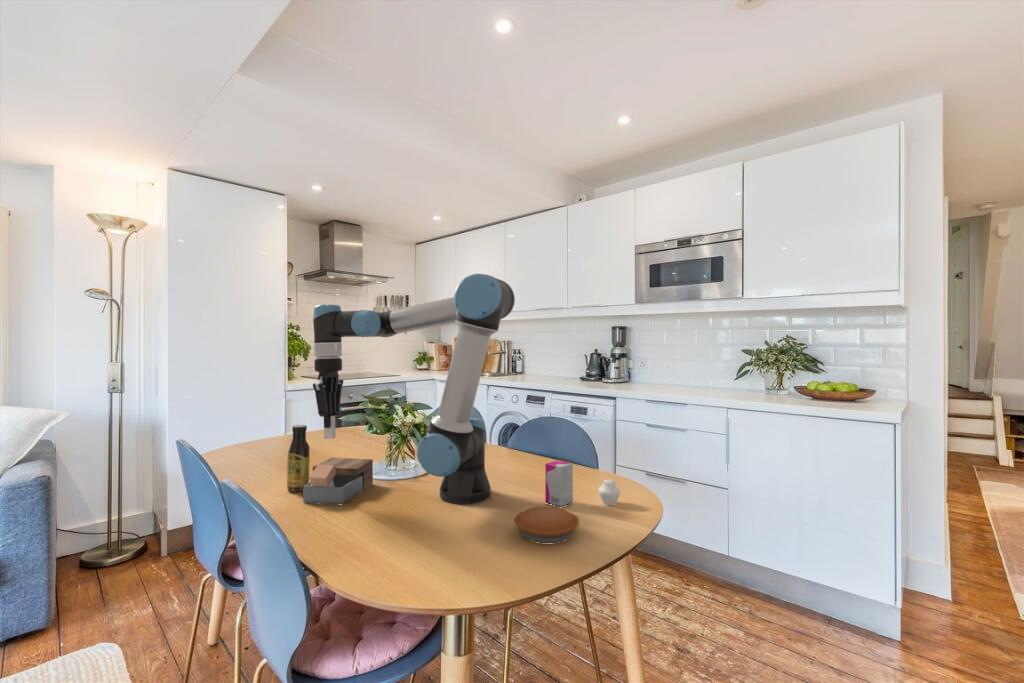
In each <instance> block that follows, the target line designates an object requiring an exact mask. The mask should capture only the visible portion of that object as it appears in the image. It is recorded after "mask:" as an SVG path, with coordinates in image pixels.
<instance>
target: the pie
mask: <svg viewBox="0 0 1024 683" xmlns="http://www.w3.org/2000/svg"><path fill="white" fill-rule="evenodd" d="M513 521H514V524H515V526H516V527H517V528H518V529H519V532H520V534H521V535H522V537H523V538H525V539H526V540H527V539H528V541H529V540H531V541H534V542H533V543H535V542H539V543H557V542H561V541H564V540H566V539H567V540H569V538H570V537H571V535H572V534H573V533H574V531H575V529H576V528H577V527H578V526H579V522H580V521H579V518H578V515H576V514H574V513H572V512H569V511H568V510H566V509H564V508H558V507H554V506H550V505H547V506H544V505H543V506H533V507H530V508H527V509H524V510H523V511H521V512H519V513H517V514H516V515H515V517H514V518H513ZM567 540H566V541H567ZM531 541H530V542H531ZM564 542H565V541H564ZM539 543H538V544H539ZM561 543H562V542H561ZM557 544H558V543H557Z"/></svg>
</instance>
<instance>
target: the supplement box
mask: <svg viewBox="0 0 1024 683" xmlns="http://www.w3.org/2000/svg"><path fill="white" fill-rule="evenodd" d="M573 468H574V463H572V462H568V461H563V460H558V459H557V460H554V461H550V462H547V463H545V482H544V483H545V488H544V490H545V491H544V492H545V493H544V494H545V496H544V497H545V498H544V499H545V501H544V502H546V503H548V504H552V505H555V506H558V507H563V506H565V505H568V504H570V503H572V502H573V501H574V497H573V496H574V489H573V488H574V486H573V485H574V478H573V476H574V469H573ZM573 503H574V502H573ZM573 503H572V504H573ZM548 504H547V505H548ZM570 505H571V504H570ZM568 506H569V505H568ZM558 507H557V508H558Z"/></svg>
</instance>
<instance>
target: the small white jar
mask: <svg viewBox="0 0 1024 683" xmlns="http://www.w3.org/2000/svg"><path fill="white" fill-rule="evenodd" d="M597 491H598V494H599V495H598V496H599V497H600V499H601V501H602V503H603V504H604V505H605V504H607V505H606V506H608V505H612V506H615V505H616V503H617V502H618V500H619V498H620V495H621V489H620V488H619V487H618V485H617V483H616V481H615V480H613V479H610V478H608V479H604V480H603V481H602V484H601V485H600V486H599V487H598V490H597ZM614 504H615V505H614Z"/></svg>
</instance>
